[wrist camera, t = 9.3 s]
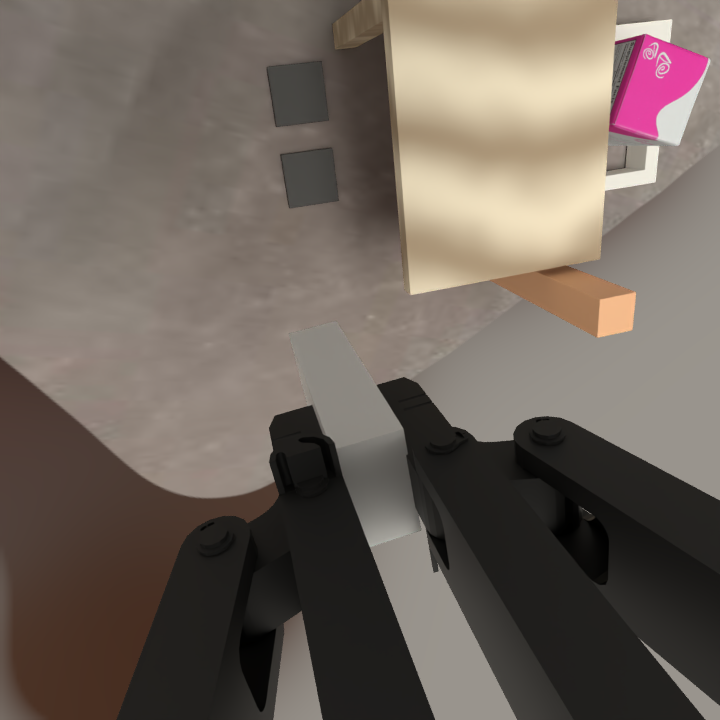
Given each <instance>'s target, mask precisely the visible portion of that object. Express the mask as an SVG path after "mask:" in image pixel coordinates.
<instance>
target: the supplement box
mask: <svg viewBox="0 0 720 720" xmlns="http://www.w3.org/2000/svg"><path fill="white" fill-rule="evenodd" d="M710 61H711V60H710V59H709V58H707V57H704V56H702V55H699V54H697V53H694V52H692V51H689V50H686V49H684V48H681V47H679V46H676V45H673V44H671V43H669V42H666V41H663V40H661V39H658V38H655V37H653V36H650V35H648V34H642V35H639V36H635V37H631V38H627V39H623V40H618V41H615V47H614V62H613V77H612V91H611V106H610V121H609V135H608V145H611V146H678V145H679V144H680V141H681V138H682V135H683V133H684V130H685V127H686V124H687V121H688V119H689V116H690V113H691V110H692V108H693V105H694V102H695V100H696V97H697V95H698V92H699V90H700V87H701V85H702V82H703V79H704V77H705V74H706V72H707V69H708V67H709V64H710Z"/></svg>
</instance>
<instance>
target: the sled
mask: <svg viewBox="0 0 720 720" xmlns="http://www.w3.org/2000/svg"><path fill="white" fill-rule="evenodd" d="M671 27H672V19H671V20H662V21H652V22H642V23H632V24H623V25H616V33H615V41H618V40H623V39H627V38H631V37H635V36H639V35H642V34H648V35H650V36H653V37H655V38H658V39H661V40H663V41H666V42H669V43H670V37H671ZM658 152H659V146H627V155H626V167H625V168H623V169H616V170H610V171H606V179H605V190H611V189H618V188H624V187H630V186H636V185H642V184H648V183H654V182H655V181H656V171H657V162H658ZM490 281H492V282H494V283H496V284H498V285H500V286H501V287H503V288H505V289H507V290H509V291H511V292H513V293H515V294H516V295H518V296H520V297H522V298H524V299H526V300H528V301H529V302H532V303H533V304H535V305H537V306H539V307H541V308H543V309H544V310H546V311H548V312H550V313H552V314H554V315H556V316H558V317H559V318H561V319H563V320H565V321H567V322H569V323H571V324H573V325H574V326H576V327H578V328H580V329H582V330H584V331H586V332H587V333H589V334H591V335H593V336H595V337H597V338H599V337H603V336H608V335H613V334H617V333H621V332H626V331H631V330H632V329H633V319H634V308H635V298H636V292H634V291H631V290H629V289H626V288H624V287H621V286H618V285H616V284H613V283H611V282H608V281H605V280H603V279H600V278H597V277H595V276H592V275H589V274H587V273H584V272H582V271H579V270H577V269H574V268H571V267H569V266H561V267H556V268H551V269H545V270H540V271H535V272H529V273H524V274H519V275H514V276H508V277H503V278H498V279H493V280H490Z"/></svg>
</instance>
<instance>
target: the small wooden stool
mask: <svg viewBox="0 0 720 720" xmlns="http://www.w3.org/2000/svg"><path fill="white" fill-rule="evenodd" d="M617 3H618V0H362V1H361V2H359V3H358V4H357V5H356V6H354V7H353V8H352V9H351V10H350V11H348V12H347V13H346V14H345V15H343V16H342V17H341V18H340V19H338V20H337V21H336V22H335V23H334V24H332V27H333V36H334V45H335V50H336V49H346V48H356V47H358V46H360V45H361V44H363V43H365V42H367V41H369V40H371V39H373V38H375V37H376V36H378V35H380V34H382V33H384V44H385V56H386V69H387V81H388V93H389V106H390V118H391V130H392V142H393V155H394V167H395V179H396V192H397V204H398V216H399V229H400V241H401V253H402V266H403V278H404V290H405V291H406V292H407V293H409V294H410V295H413V294H419V293H424V292H429V291H434V290H440V289H445V288H450V287H456V286H461V285H466V284H471V283H477V282H482V281H487V280H493V279H498V278H503V277H508V276H514V275H519V274H524V273H529V272H535V271H540V270H545V269H551V268H556V267H561V266H566V265H572V264H577V263H582V262H587V261H592V260H597V259H600V252H601V238H602V223H603V209H604V194H605V179H606V165H607V150H608V135H609V121H610V106H611V91H612V77H613V62H614V47H615V33H616V18H617Z"/></svg>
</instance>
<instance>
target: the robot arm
mask: <svg viewBox="0 0 720 720" xmlns="http://www.w3.org/2000/svg"><path fill="white" fill-rule="evenodd" d="M289 337H290V341H291V345H292V349H293V352H294V356H295V360H296V364H297V368H298V371H299V375H300V379H301V383H302V387H303V391H304V394H305V398H306V402H307V407H303V408H300V409H296V410H293V411H289V412H286V413H283V414H279V415H276V416H275V417H274V419H273V421H272V423H271V425H270V427H269V431H270V436H271V440H272V446H273V452H272V453H271V455H270V461H269V463H270V467H271V470H272V473H273V476H274V479H275V483H276V486H277V489H278V492H279V497H278V499H277V500H276V502H275V503H274V505H273V506H272V507H271V508H270V509H269V510H268V511H267V512H265V513H264V514H263V515H261V516H260V517H258V518H256V519H254V520H253V521H251V522H249V523H246V521H245V520H244V519H241V518H239V517H236V516H222V517H218V518H215V519H211V520H209V521H207V522H205V523H203V524H201V525H200V526H198V527H197V528H195V529H194V530H193V531H192V532H191V533H190V534H189V535H188V536H187V537H186V539H185V541H184V542H183V544H182V546H181V548H180V551H179V553H178V556H177V559H176V561H175V564H174V567H173V570H172V572H171V575H170V578H169V580H168V583H167V586H166V588H165V591H164V594H163V596H162V599H161V602H160V604H159V607H158V610H157V613H156V615H155V618H154V621H153V623H152V626H151V629H150V631H149V634H148V637H147V639H146V642H145V645H144V647H143V651H142V653H141V656H140V658H139V661H138V664H137V667H136V669H135V672H134V675H133V677H132V680H131V682H130V685H129V688H128V690H127V693H126V696H125V698H124V701H123V704H122V706H121V710H120V712H119V715H118V717H117V720H273V717H274V709H275V701H276V693H277V685H278V676H279V669H280V661H281V653H282V645H283V636H284V624H283V623H284V622H286V621H287V620H289V619H290V618H292V617H293V616H294V615H296V614H297V613H299V612H300V611H302V614H303V620H304V624H305V630H306V635H307V640H308V645H309V650H310V656H311V661H312V666H313V671H314V677H315V682H316V686H317V692H318V697H319V702H320V707H321V713H322V718H323V720H435V718H434V716H433V713H432V710H431V708H430V705H429V702H428V700H427V697H426V694H425V692H424V689H423V687H422V684H421V681H420V679H419V676H418V674H417V671H416V668H415V665H414V663H413V660H412V658H411V655H410V652H409V650H408V647H407V644H406V642H405V639H404V636H403V634H402V631H401V629H400V626H399V623H398V621H397V618H396V615H395V613H394V610H393V607H392V605H391V602H390V599H389V597H388V594H387V592H386V589H385V586H384V584H383V581H382V578H381V576H380V573H379V570H378V568H377V565H376V562H375V560H374V557H373V554H372V552H371V549H370V547H373V546H376V545H379V544H382V543H385V542H388V541H390V540H394V539H397V538H400V537H402V536H406V535H409V534H412V533H415V532H418V531H421V526H420V520H419V516H420V517H421V519H422V521H423V523H424V525H425V527H426V532H427V538H428V544H429V550H430V555H431V561H432V567H433V571H434V572H437V571H438V564H439V567H440V569H441V571H442V573H443V574H444V576H445V578H446V580H447V582H448V584H449V586H450V588H451V590H452V592H453V594H454V596H455V598H456V600H457V602H458V604H459V606H460V608H461V610H462V612H463V614H464V616H465V618H466V620H467V622H468V624H469V626H470V628H471V630H472V632H473V633H474V635H475V638H476V639H477V641H478V643H479V645H480V647H481V649H482V651H483V653H484V655H485V657H486V659H487V661H488V663H489V665H490V667H491V669H492V671H493V673H494V675H495V677H496V679H497V681H498V683H499V685H500V687H501V689H502V690H503V693H504V695H505V697H506V698H507V700H508V702H509V704H510V706H511V708H512V710H513V712H514V714H515V716H516V718H517V720H705V719H704V718H703V716H702V715H701V714H700V713H699V711H698V710H697V709H696V708H695V707H694V705H693V704H692V703H691V702H690V701H689V699H688V698H687V697H686V696H685V694H684V693H683V692H682V691H681V690H680V688H679V687H678V686H677V685H676V683H675V682H674V681H673V680H672V679H671V677H670V676H669V675H668V674H667V672H666V671H665V670H664V669H663V668H662V666H661V665H660V664H659V663H658V661H657V660H656V659H655V658H654V656H653V655H652V654H651V653H650V652H649V650H648V649H647V648H646V647H645V646H644V644H643V643H642V642H641V641H640V639H641V640H642V641H643V642H644V643H645V644H647V645H648V646H649V647H650V648H652V649H653V650H654V651H655V652H656V653H658V654H659V655H660V656H661V657H662V658H663V659H665V660H666V661H667V662H668V663H669V664H671V665H672V666H673V667H674V668H675V669H677V670H678V671H679V672H680V673H681V674H683V675H684V676H685V677H686V678H687V679H689V680H690V681H691V682H692V683H693V684H695V685H696V686H697V687H698V688H699V689H700V690H702V691H703V692H704V693H705V694H706V695H708V696H709V697H710V698H711V699H712V700H714V701H715V702H716V703H717V704H719V705H720V500H718V499H716V498H714V497H712V496H710V495H708V494H706V493H705V492H702V491H701V490H699V489H697V488H695V487H693V486H691V485H689V484H688V483H686V482H684V481H682V480H680V479H678V478H676V477H674V476H672V475H671V474H669V473H666V472H665V471H663V470H661V469H659V468H657V467H655V466H654V465H652V464H650V463H648V462H646V461H644V460H642V459H640V458H638V457H637V456H635V455H633V454H631V453H629V452H627V451H625V450H623V449H621V448H620V447H617V446H615V445H614V444H612V443H610V442H608V441H606V440H604V439H603V438H601V437H599V436H597V435H595V434H593V433H591V432H589V431H587V430H586V429H584V428H582V427H580V426H578V425H576V424H574V423H572V422H570V421H567V420H565V419H562V418H557V417H549V416H546V417H535V418H532V419H529V420H526V421H524V422H522V423H521V424H520V425H518V426H517V427H516V429H515V431H514V434H513V435H514V440H511V441H500V442H478V441H477V440H476V439H475V438H474V437H473V436H472V435H471V434H470V433H468V432H467V431H466V430H463V429H460V428H457V427H452V426H451V425H450V424H449V422H448V421H447V420H446V419H445V417H444V416H443V415H442V413H441V412H440V411H439V410H438V408H437V407H436V406H435V405H434V403H432V401H431V400H430V398H429V397H428V396H427V395H426V393H425V392H424V391H423V389H422V388H421V387H420V385H419V384H418V383H416V382H414V381H412V380H409V379H407V378H405V377H403V378H399V379H396V380H392V381H389V382H385V383H382V384H378V385H376V384H375V382H374V381H373V379H372V377H371V376H370V374H369V373H368V371H367V369H366V368H365V366H364V365H363V363H362V361H361V360H360V358H359V357H358V355H357V353H356V352H355V350H354V349H353V347H352V345H351V344H350V342H349V341H348V339H347V337H346V336H345V334H344V333H343V331H342V329H341V328H340V326H339V324H338V323H337V321H334V322H330V323H326V324H323V325H319V326H315V327H311V328H308V329H304V330H300V331H296V332H293V333H289ZM582 508H584V509H585V510H586V511H585V510H584V509H582ZM587 511H588V512H589V513H591V514H589V513H588V512H587ZM437 563H438V564H437ZM639 638H640V639H639Z"/></svg>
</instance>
